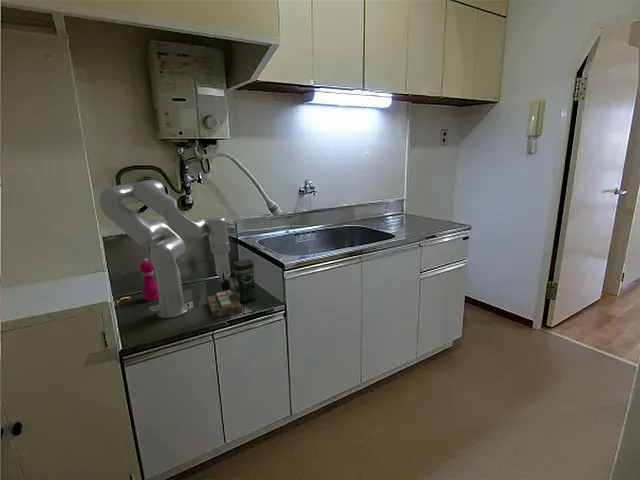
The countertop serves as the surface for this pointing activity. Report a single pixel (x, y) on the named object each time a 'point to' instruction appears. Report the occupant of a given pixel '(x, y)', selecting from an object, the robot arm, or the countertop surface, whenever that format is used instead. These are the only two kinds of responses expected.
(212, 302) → the keypad
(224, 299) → the grey key
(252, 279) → the coffee jar
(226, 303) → the sage key
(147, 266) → the pepper mill
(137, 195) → the robot arm
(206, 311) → the countertop surface
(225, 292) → the terracotta key
